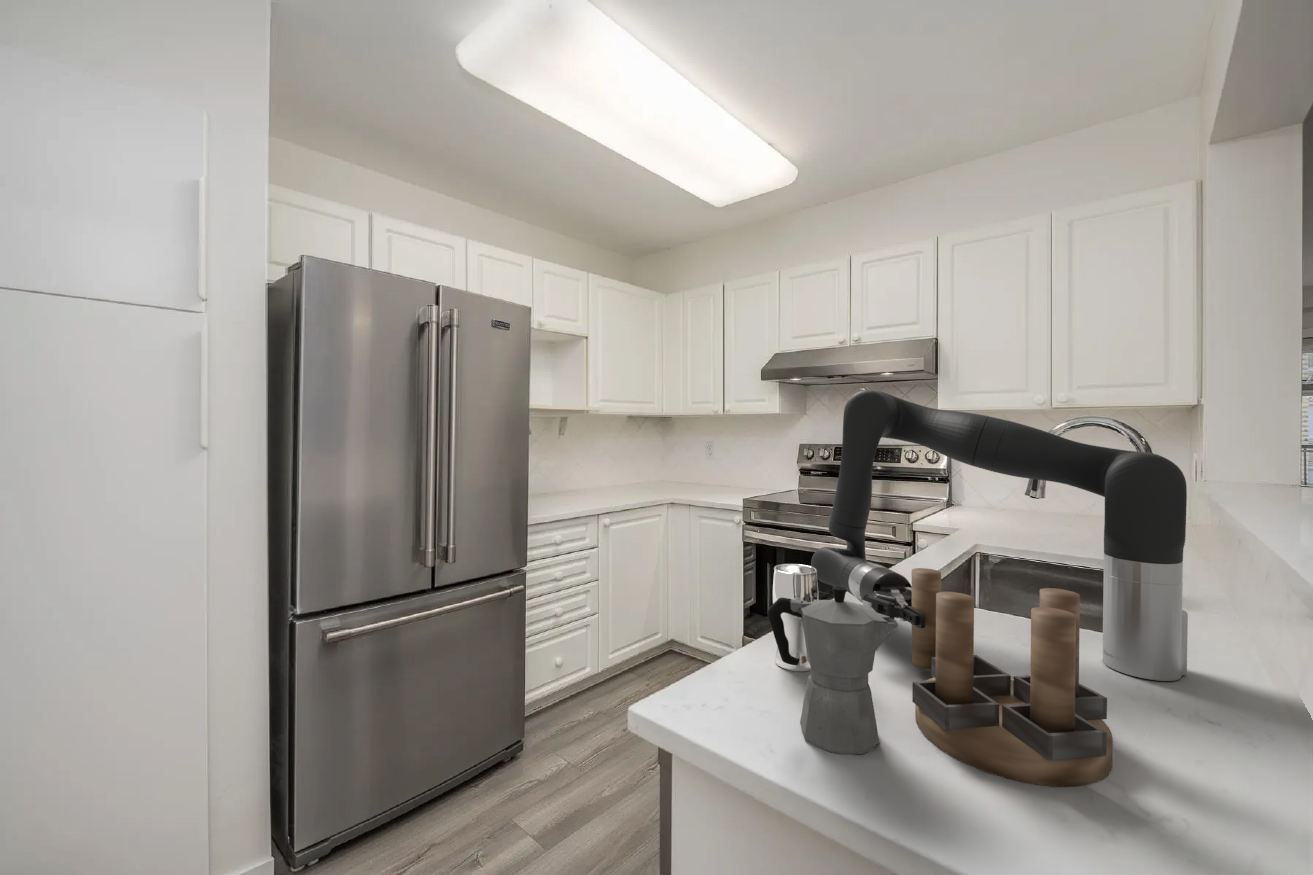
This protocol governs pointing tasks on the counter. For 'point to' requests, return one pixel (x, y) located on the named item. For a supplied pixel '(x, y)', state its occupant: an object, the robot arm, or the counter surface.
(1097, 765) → the stool seat
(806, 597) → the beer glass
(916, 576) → the loose leg
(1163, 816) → the counter surface
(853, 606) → the coffeepot
